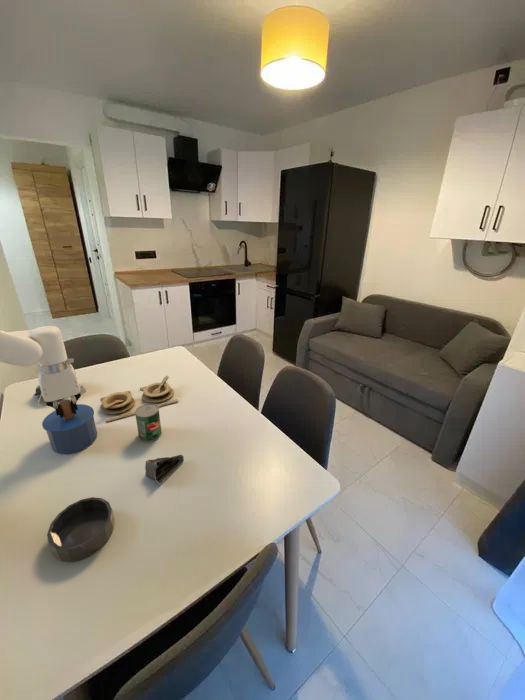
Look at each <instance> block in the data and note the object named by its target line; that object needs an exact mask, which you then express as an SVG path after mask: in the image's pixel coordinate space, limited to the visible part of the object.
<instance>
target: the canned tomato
mask: <svg viewBox="0 0 525 700" xmlns="http://www.w3.org/2000/svg"><path fill="white" fill-rule="evenodd" d="M155 404H156V403H144V404H141V405H140V406H138V407H137V408H136V409H135V410H134V411H135V415H134V416H135V420H136V427H137V433H138V439H139V441H141V442H142V443H143V442H144V443H151V442H154V441H157V440H158V439H160V438H161V436H162V433H163V431H162V425H161V419H160V418H161V417H160V407H158V406H157V405H155Z"/></svg>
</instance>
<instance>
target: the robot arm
mask: <svg viewBox="0 0 525 700" xmlns="http://www.w3.org/2000/svg"><path fill="white" fill-rule="evenodd" d="M65 346H66V345H65V342H64V338H63V334H62V331H61V329H60V328H59V327H57V326H55V325H44V326H39V327H35V328H33V329H26V330H15V331H4V330H1V329H0V363H4V364H7V365H12V366H15V367H16V366H17V367H30V366H33V365H36V364H37V363H38V367H39V370H38V372H37V378H38V383H39V384H38V385H40V389H41V392H42V393H41V396H39V398H38V401H37V404H38V405H40V406H47V407H50V408H53V409H54V411H55V410H56V414H57V416H58V415H60V418H62V417H63V415H62V412H61V408H60V405H59V402H58V400H64V399H68V398H70V401H71V405H72V409H73V412H74V414H77V413H76V410H78V408H77V404H78V400H80V398H81V397H82V396H83V395H85V394H86V393H87V389H86V388H85V387H84V385H82V384H80V382H79V379H78V376H77V373H76V370H75V368H74V367H73V364H74V363H75V360H74V358H73V357H72V358H70V357H68V354H67V351H66V347H65ZM72 363H73V364H72Z"/></svg>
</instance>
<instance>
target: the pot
mask: <svg viewBox="0 0 525 700" xmlns="http://www.w3.org/2000/svg"><path fill="white" fill-rule="evenodd" d="M46 433H47V437H48V440H49V443H50V446H51V449H52V451H53V452H54V453H56V454H58V455H70V454H75V453H79V452H81V451H84V450H85V449H87V448H88V447H90V446H91V445H93V443H94V442H95V441H96V440H97V437H98V431H97V427H96V421H95V417H94V416H93V417H92V419H91V420H90V421H89V422H87V423H86V424H84V425H83V426H81V427H79V428H76V429H74V430H71V431H67V432H60V433H53V432H48V431H46Z"/></svg>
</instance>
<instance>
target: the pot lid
mask: <svg viewBox="0 0 525 700" xmlns="http://www.w3.org/2000/svg"><path fill="white" fill-rule="evenodd" d="M58 404H59V405H60V408H61V412H62V415H63V417H62V418H60V415H58V416H57V414H56V410H55V409H54V410H53V411H52V412H50V413H48V414H47V415H46V416H45V417H44V418H43V420H42V423H41V426H42V429H43V430H44V431H46V432H47V431H48V432H53V433H60V432H67V431H71V430H74V429H76V428H79V427H81V426H83V425H84V424H86V423H87V422H89V421H90V420H91V419H92V417H94V416H95V411H94V408H93V407H92V406H90V405H87V404H83V403H81V404H80V403H76V404H77V408H78V410H76V413H77V414H74V412H73V409H72V405H71V399H68V398H65V399H61V401H59V402H58Z"/></svg>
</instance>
